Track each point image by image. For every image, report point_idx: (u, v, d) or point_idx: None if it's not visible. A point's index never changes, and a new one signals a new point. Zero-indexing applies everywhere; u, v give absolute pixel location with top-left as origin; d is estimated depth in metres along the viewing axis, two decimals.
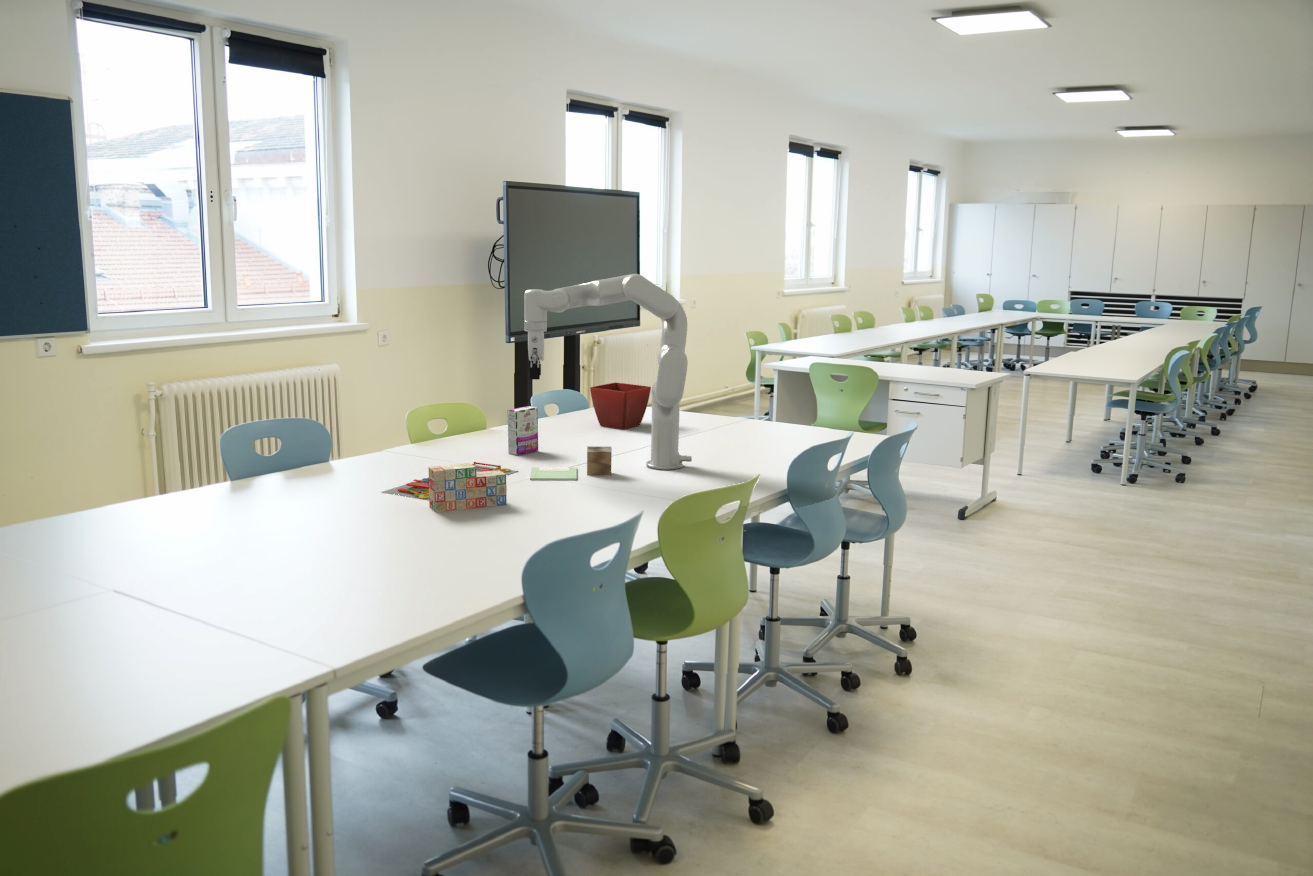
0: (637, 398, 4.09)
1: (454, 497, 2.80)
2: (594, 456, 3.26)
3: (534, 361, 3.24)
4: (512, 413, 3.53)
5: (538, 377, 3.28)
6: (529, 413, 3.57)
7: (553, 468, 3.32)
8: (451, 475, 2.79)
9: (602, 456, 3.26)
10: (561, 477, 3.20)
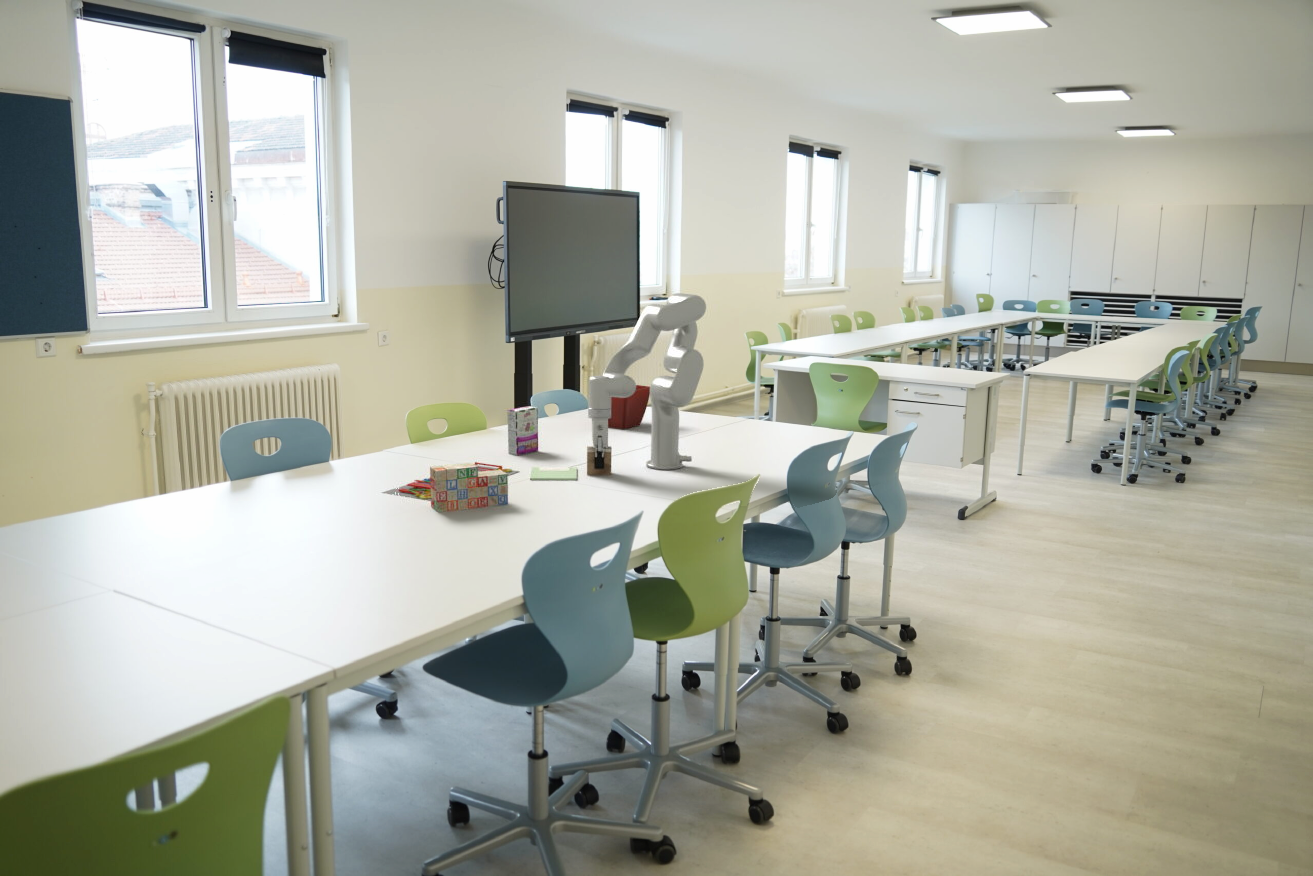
0: (637, 398, 4.09)
1: (455, 497, 2.80)
2: (594, 456, 3.26)
3: (599, 453, 3.22)
4: (512, 413, 3.53)
5: (602, 466, 3.26)
6: (529, 413, 3.57)
7: (553, 468, 3.32)
8: (453, 474, 2.79)
9: None
10: (561, 477, 3.20)
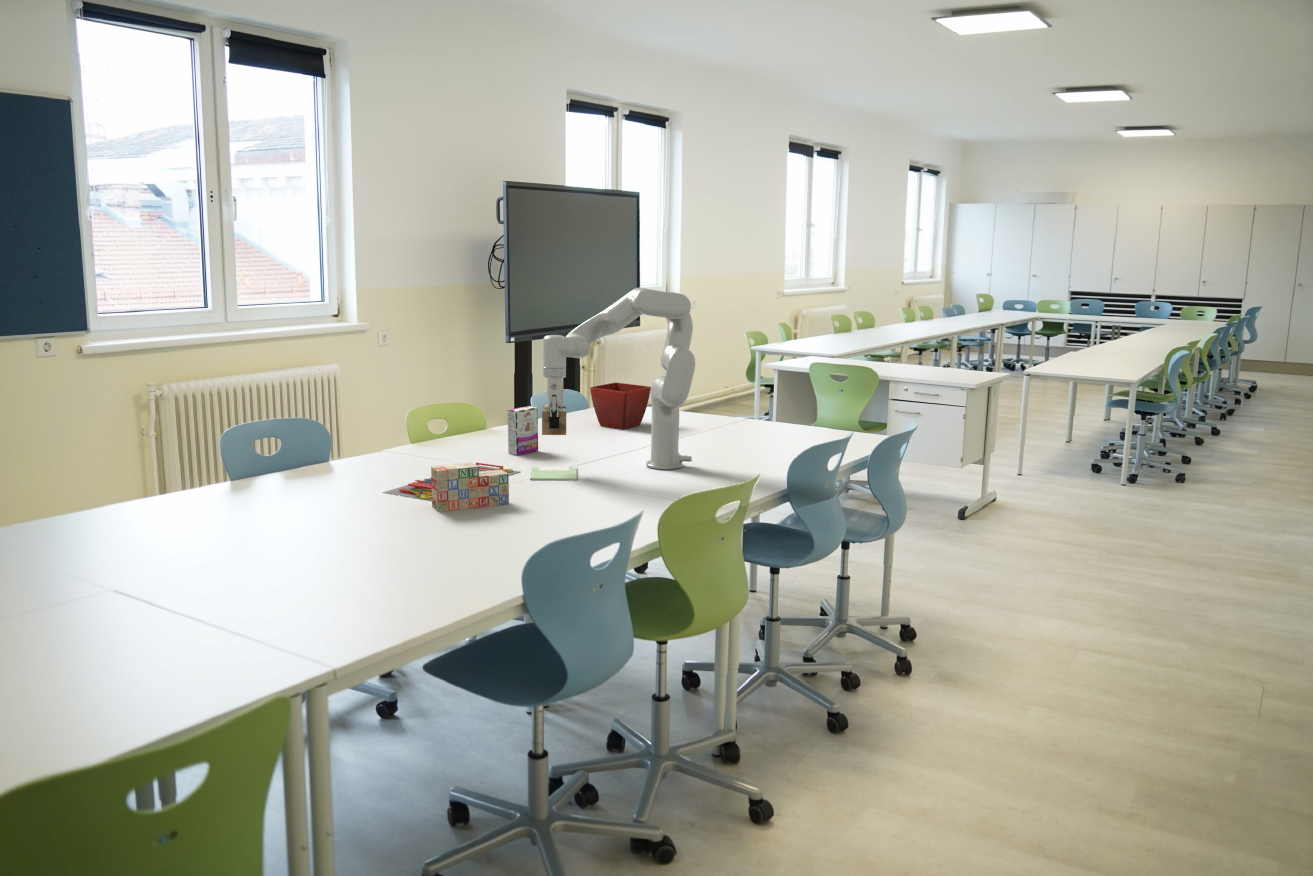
0: (637, 398, 4.09)
1: (456, 497, 2.81)
2: (549, 415, 3.26)
3: (554, 412, 3.22)
4: (512, 413, 3.53)
5: (557, 426, 3.26)
6: (529, 413, 3.57)
7: (553, 468, 3.32)
8: (454, 474, 2.79)
9: None
10: (561, 477, 3.20)
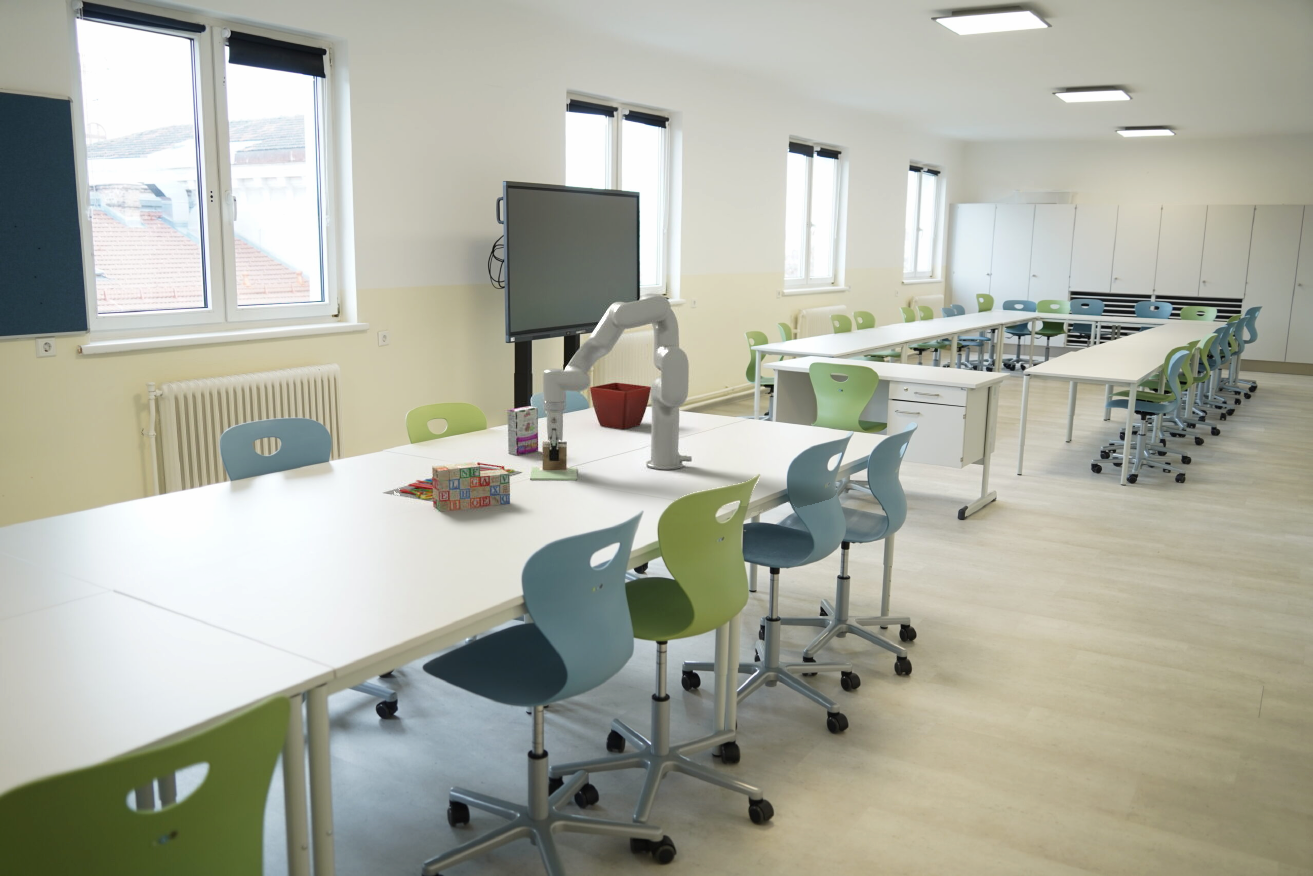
0: (637, 398, 4.09)
1: (458, 496, 2.81)
2: None
3: (553, 444, 3.23)
4: (512, 413, 3.53)
5: (557, 459, 3.27)
6: (529, 413, 3.57)
7: None
8: (456, 474, 2.79)
9: None
10: (561, 477, 3.20)
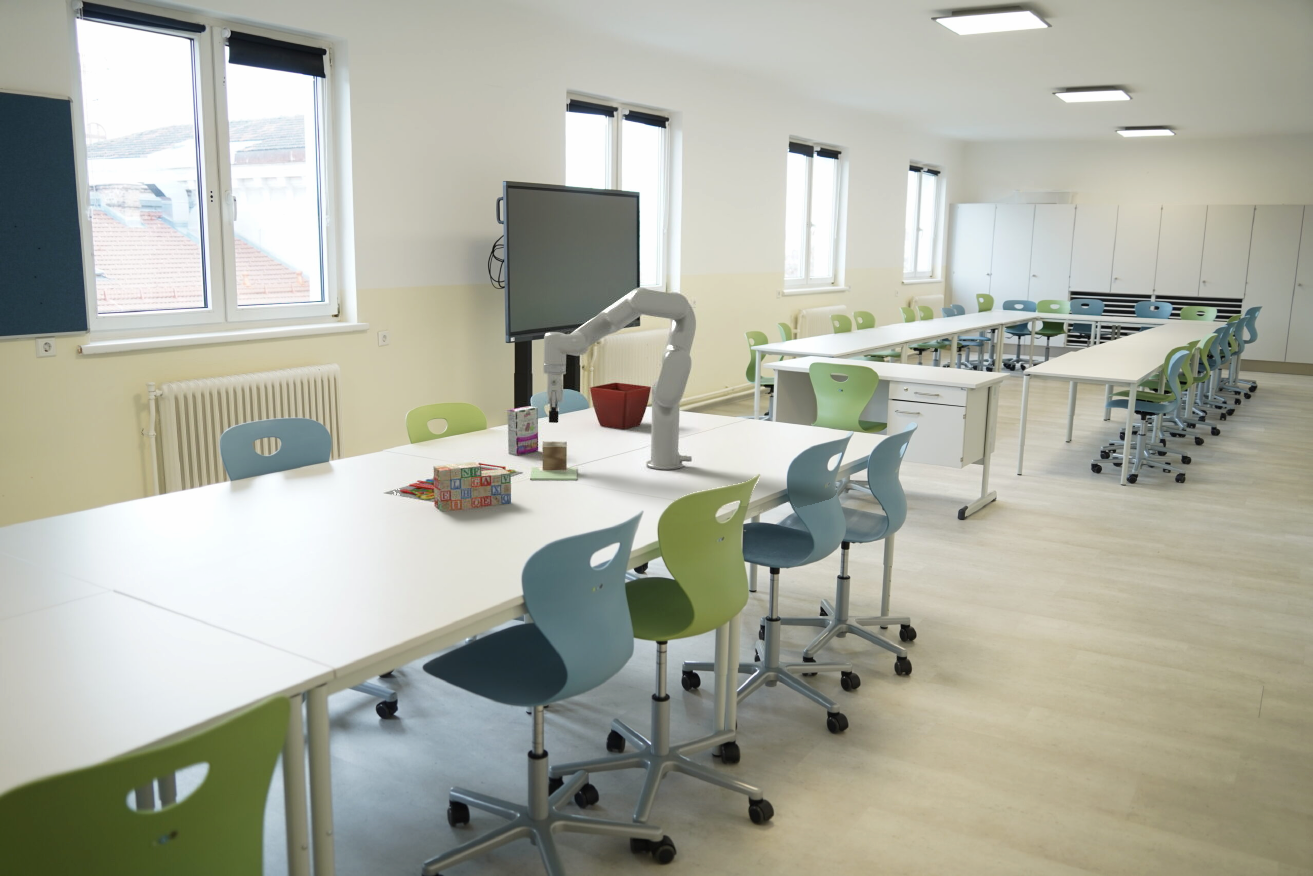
0: (637, 398, 4.09)
1: (459, 496, 2.81)
2: (549, 451, 3.28)
3: (553, 407, 3.32)
4: (512, 413, 3.53)
5: (557, 420, 3.36)
6: (529, 413, 3.57)
7: None
8: (457, 474, 2.80)
9: (557, 451, 3.29)
10: (561, 477, 3.20)
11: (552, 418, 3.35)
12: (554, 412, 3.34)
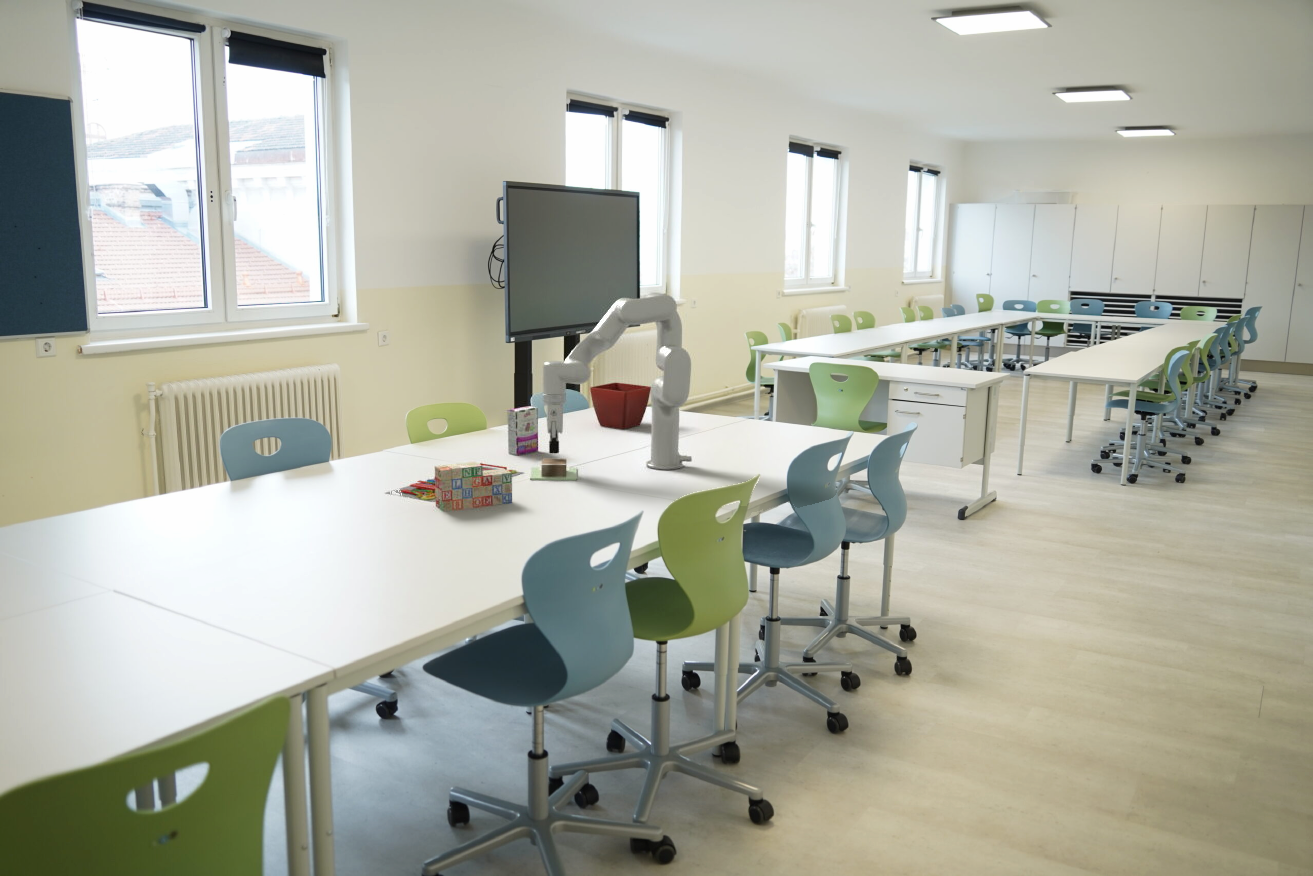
0: (637, 398, 4.09)
1: (460, 496, 2.82)
2: None
3: (553, 438, 3.25)
4: (512, 413, 3.53)
5: (557, 451, 3.28)
6: (529, 413, 3.57)
7: None
8: (458, 473, 2.80)
9: None
10: (561, 477, 3.20)
11: (552, 449, 3.27)
12: (554, 443, 3.27)
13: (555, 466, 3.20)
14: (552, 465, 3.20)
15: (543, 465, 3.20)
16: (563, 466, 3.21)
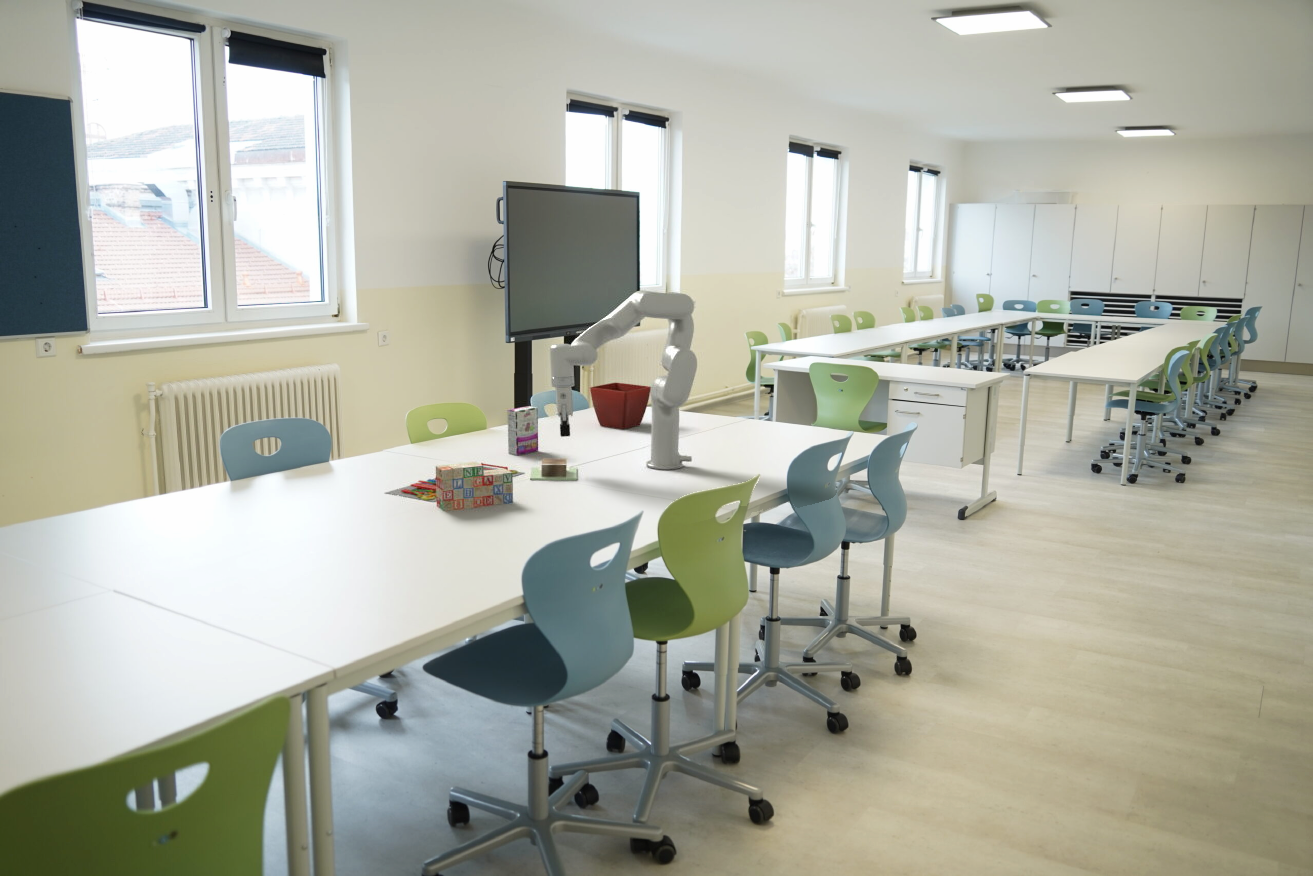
0: (637, 398, 4.09)
1: (461, 496, 2.82)
2: None
3: (564, 421, 3.24)
4: (512, 413, 3.53)
5: (568, 434, 3.28)
6: (529, 413, 3.57)
7: None
8: (459, 473, 2.80)
9: None
10: (561, 477, 3.20)
11: (564, 432, 3.27)
12: (565, 426, 3.26)
13: (555, 466, 3.20)
14: (552, 465, 3.20)
15: (543, 465, 3.20)
16: (563, 466, 3.21)
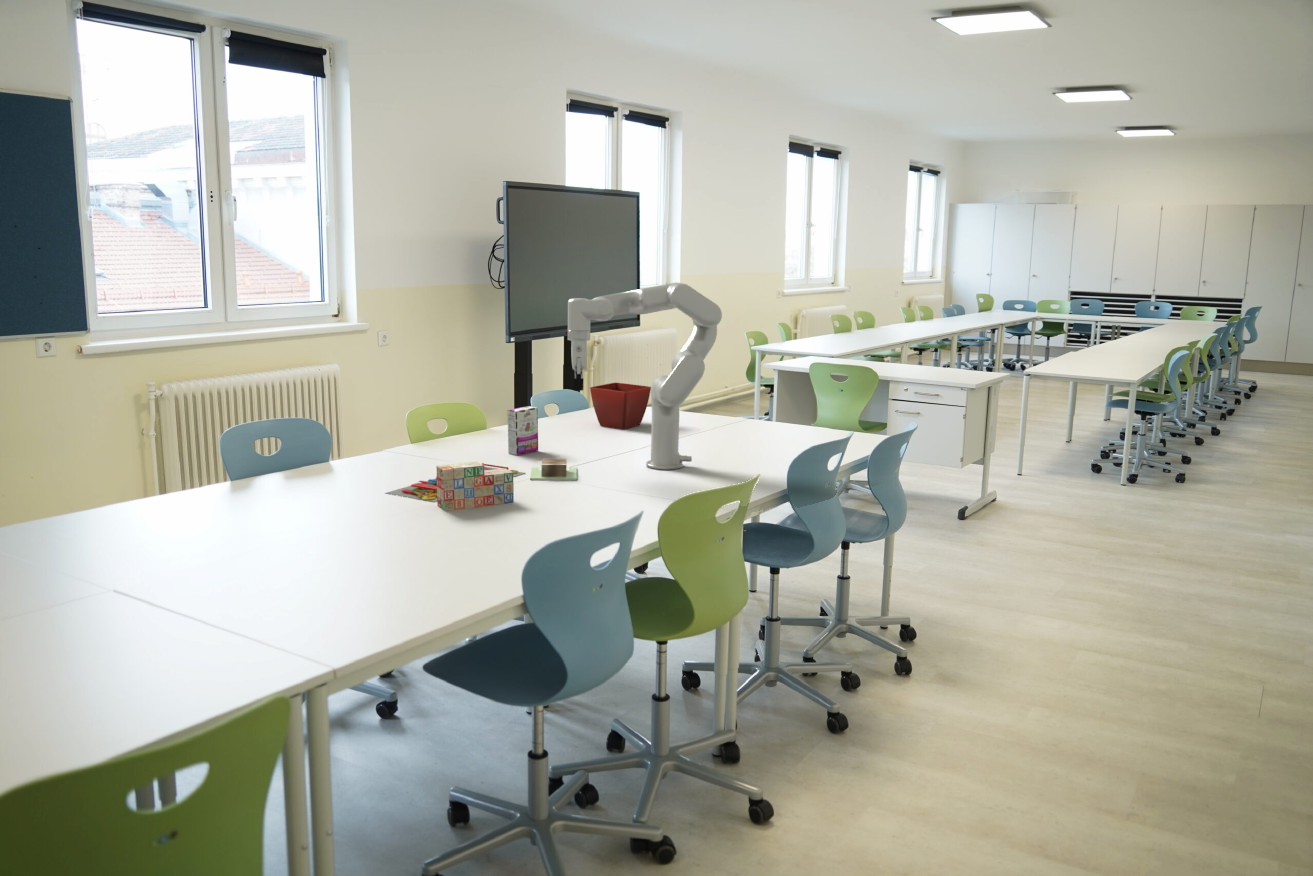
0: (637, 398, 4.09)
1: (462, 496, 2.82)
2: None
3: (578, 374, 3.27)
4: (512, 413, 3.53)
5: (582, 388, 3.30)
6: (529, 413, 3.57)
7: None
8: (460, 473, 2.81)
9: None
10: (561, 477, 3.20)
11: (577, 386, 3.29)
12: (579, 379, 3.29)
13: (555, 466, 3.20)
14: (552, 465, 3.20)
15: (543, 465, 3.20)
16: (563, 466, 3.21)
